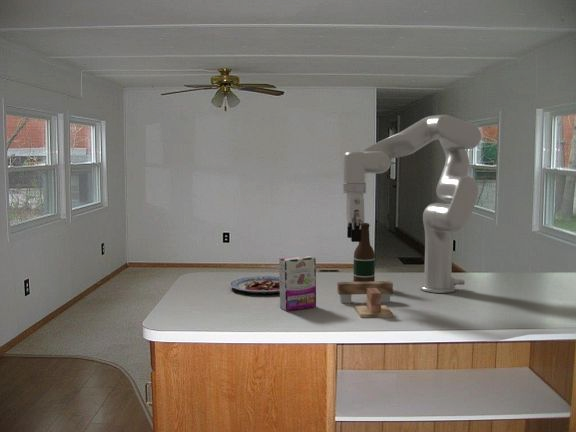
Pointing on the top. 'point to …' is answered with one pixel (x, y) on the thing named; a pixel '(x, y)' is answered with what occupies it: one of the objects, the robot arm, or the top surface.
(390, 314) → the fulcrum
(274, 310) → the top surface
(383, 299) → the grey cubes
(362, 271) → the beer bottle
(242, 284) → the ceramic plate
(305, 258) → the candy bar box
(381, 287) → the walnut bar
